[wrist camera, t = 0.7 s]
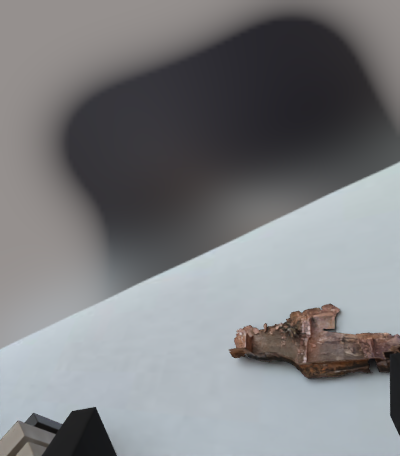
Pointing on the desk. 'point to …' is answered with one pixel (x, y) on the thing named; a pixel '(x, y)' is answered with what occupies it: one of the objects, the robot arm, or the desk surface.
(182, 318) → the desk surface
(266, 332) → the tree bark
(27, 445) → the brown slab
